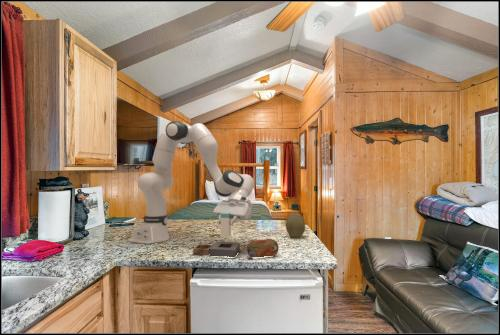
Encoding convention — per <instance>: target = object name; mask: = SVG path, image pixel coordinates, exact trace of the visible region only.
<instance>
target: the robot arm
mask: <svg viewBox="0 0 500 335" xmlns="http://www.w3.org/2000/svg"><path fill="white" fill-rule="evenodd" d="M192 143H193V144H194V146H195V148H196V149H197V151H198V153H199V154H200V156H201V159H202V161H203V164H204V166H205V169H206V171H207V172H208V174H209V175H210V178H211V180H212V182H213V186H214V190H215V192H216V194H217V195H218V196H220V197H223V198H226V197H229V198H228V199H227V200H225V199H224V200H221V201H220V202H218V203H217V204H216V206H215V207H214V209H213V211H212V212H213V214H214V215H215V216H216V217H218V221H217V223H218V224H219V225H221V215H220V214H221V213H222V212H228V213H230V215H231V219H232V220H231V221H229V225H231V227H233V226H234V224H235V223H236V222H237V221H238V220H243V221H244V220H245V221H246V220H248V219H249V218H250V216H251V214H252V209H253V207H254V205H253V203H252V201H251V199H249V196H251V194H252V192H253V190H254V187H255V180H254V178H253V177H252V176H251V175H250V174H247V173H244V174H242V173H239V172H236V171H235V170H232V169H228V170H225V171H224V172H223V173H222V171H221V169H220V168H219V166H218V160H217V159H218V151H219V146H218V142H217V140H216V138H215V137H214V135H213V134H212V133H211V131H210V130H209V129H208V127H207V126H206V125H205V124H203V123H199V122H197V123H194V124H193V125H190V124H188V123H186V122H181V121H178V120H172V121H170V122H168V123H167V125H166V126H165V130H164V131H162V132H161V133H160V135H159V137H158V139H157V142H156V145H155V148H154V152H153V155H152V163H153V165H154V172H146V173H143V174H141V175H140V176H139V177H138V179H137V186H138V188H139V190H141V192H142V193H143V196H144V199H145V206H146V207H145V208H146V209H145V211H146V215H144V216H143V217H141V219H142V220H143V222H142V223H140V224H139V225H138V226H136V227H135V228H134V229H133V231H132V236H131V237H129V238H128V240H127V242H130V243H135V244H136V243H137V244H147V245H149V244H155V243H161V242H162V243H163V242H166V241H168V240H169V239H170V236H169V232H168V231H169V230H168V213H167V209H168V208H167V203H168V202H167V200H166V199H165V198H164V194H163V191H166V190H169V189H170V188H171V187H172V186H173V184H174V178H173V175H172V168H173V166H172V165H173V162H174V159H175V158H174V157H175V153H176V150H177V146H178V145H179V144H182V145H184V144H192Z"/></svg>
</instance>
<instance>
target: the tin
mask: <svg viewBox="0 0 500 335" xmlns="http://www.w3.org/2000/svg"><path fill="white" fill-rule="evenodd" d="M278 252H279V244H278V242H277V241H276V240H275V239H272V238H261V239H260V238H259V239H252V240H251V241H250V242H248V244H247V245H246V253H247V255H248V257H250V258H251V257H264V256H274V257H275V256H277V254H278Z"/></svg>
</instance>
